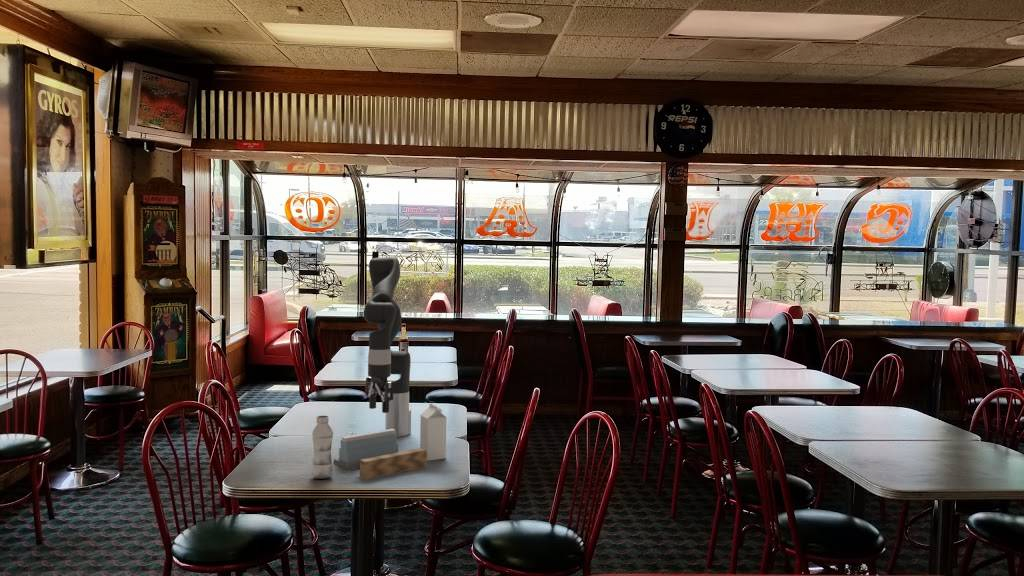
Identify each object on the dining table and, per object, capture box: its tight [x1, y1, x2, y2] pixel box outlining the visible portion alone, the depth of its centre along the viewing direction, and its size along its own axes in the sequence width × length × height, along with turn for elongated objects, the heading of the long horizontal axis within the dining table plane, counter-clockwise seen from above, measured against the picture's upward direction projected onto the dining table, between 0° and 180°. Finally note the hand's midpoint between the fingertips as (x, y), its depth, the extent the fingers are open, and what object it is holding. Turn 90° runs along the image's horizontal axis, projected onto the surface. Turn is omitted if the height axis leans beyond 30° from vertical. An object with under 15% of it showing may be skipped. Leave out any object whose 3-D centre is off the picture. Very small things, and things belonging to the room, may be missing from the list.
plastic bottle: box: [311, 415, 334, 480], centre depth 251 cm, size 6×7×20 cm
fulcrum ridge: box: [333, 429, 399, 471], centre depth 272 cm, size 22×10×10 cm, turn 131°
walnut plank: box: [359, 447, 427, 480], centre depth 260 cm, size 24×3×6 cm, turn 131°
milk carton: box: [419, 402, 447, 462], centre depth 277 cm, size 7×7×19 cm
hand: (378, 410), depth 261 cm, fingers open, 8 cm apart
